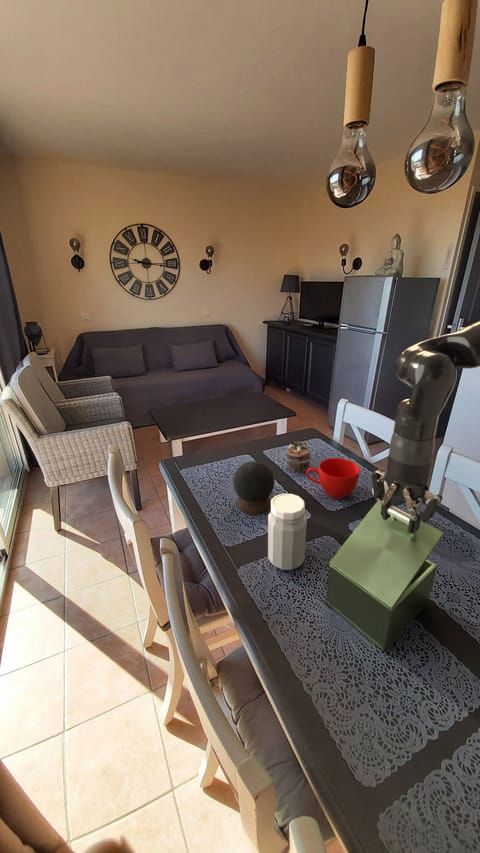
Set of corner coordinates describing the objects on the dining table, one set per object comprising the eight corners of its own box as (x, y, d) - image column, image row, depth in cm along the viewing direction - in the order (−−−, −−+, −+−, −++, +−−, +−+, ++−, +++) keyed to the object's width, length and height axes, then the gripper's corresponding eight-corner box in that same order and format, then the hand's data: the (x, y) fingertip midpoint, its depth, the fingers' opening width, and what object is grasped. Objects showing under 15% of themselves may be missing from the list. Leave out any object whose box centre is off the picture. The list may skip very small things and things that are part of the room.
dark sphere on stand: (244, 521, 110) (242, 479, 104) (227, 498, 121) (225, 459, 115) (281, 509, 115) (282, 468, 109) (262, 488, 126) (262, 450, 120)
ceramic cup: (306, 480, 130) (307, 455, 126) (355, 484, 127) (358, 459, 122) (304, 501, 118) (305, 475, 114) (358, 506, 115) (361, 479, 111)
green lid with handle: (379, 501, 83) (375, 488, 80) (443, 534, 73) (442, 520, 69) (330, 564, 78) (323, 552, 74) (392, 609, 67) (388, 598, 64)
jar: (300, 577, 90) (303, 518, 82) (262, 567, 93) (262, 510, 86) (307, 550, 98) (311, 495, 91) (273, 542, 101) (273, 488, 94)
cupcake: (280, 469, 137) (281, 445, 133) (292, 458, 145) (293, 436, 141) (303, 476, 132) (305, 452, 128) (314, 464, 140) (316, 441, 135)
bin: (370, 566, 92) (376, 529, 87) (427, 604, 82) (437, 564, 77) (325, 603, 83) (329, 564, 78) (383, 652, 72) (391, 610, 67)
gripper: (459, 461, 65) (441, 534, 72) (387, 435, 76) (378, 502, 83) (439, 476, 61) (422, 552, 68) (365, 447, 72) (358, 515, 79)
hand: (398, 524), depth 76 cm, fingers closed on green lid with handle, 5 cm apart
